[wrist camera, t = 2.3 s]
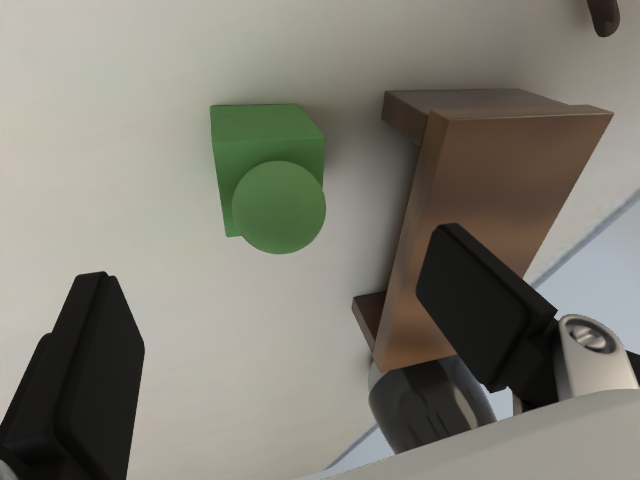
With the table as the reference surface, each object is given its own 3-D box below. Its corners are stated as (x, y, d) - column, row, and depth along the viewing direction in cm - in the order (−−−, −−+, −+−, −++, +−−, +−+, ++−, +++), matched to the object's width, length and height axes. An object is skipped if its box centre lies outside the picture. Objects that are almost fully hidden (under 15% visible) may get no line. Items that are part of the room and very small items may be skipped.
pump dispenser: (451, 351, 38) (561, 513, 26) (370, 392, 38) (443, 568, 27) (438, 303, 31) (577, 488, 20) (341, 352, 32) (421, 562, 20)
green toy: (209, 105, 16) (214, 182, 10) (298, 103, 17) (355, 171, 11) (221, 187, 19) (231, 289, 12) (297, 180, 20) (343, 272, 13)
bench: (385, 85, 18) (449, 119, 13) (521, 84, 20) (616, 112, 15) (351, 311, 28) (379, 373, 24) (442, 294, 31) (484, 348, 26)
